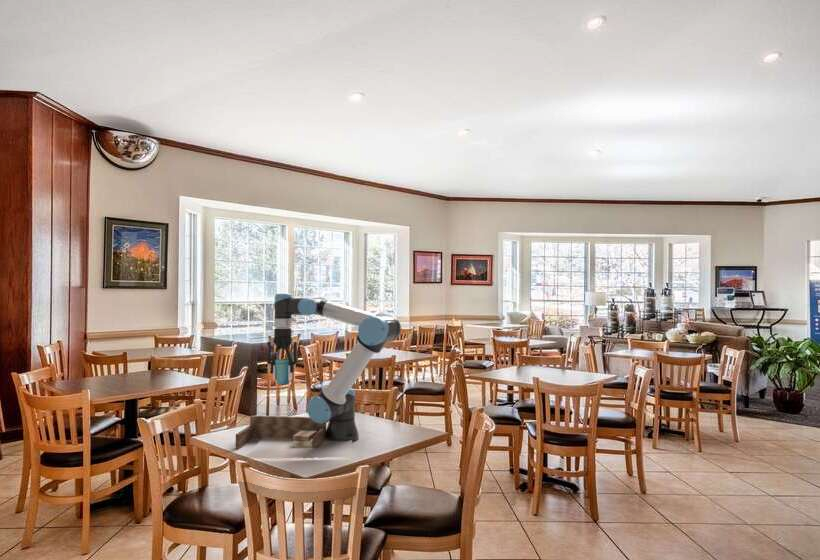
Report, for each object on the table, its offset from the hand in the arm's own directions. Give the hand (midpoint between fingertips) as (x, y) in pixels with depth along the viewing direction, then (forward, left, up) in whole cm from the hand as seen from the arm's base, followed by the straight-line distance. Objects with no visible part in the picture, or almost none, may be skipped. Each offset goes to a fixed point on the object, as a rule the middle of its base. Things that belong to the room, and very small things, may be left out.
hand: (282, 379), depth 242 cm
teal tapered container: (0, 0, -2) cm, 2 cm away
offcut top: (-13, +7, -24) cm, 28 cm away
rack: (-2, +6, -27) cm, 28 cm away
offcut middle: (-12, +7, -26) cm, 29 cm away
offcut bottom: (-12, +7, -28) cm, 31 cm away
